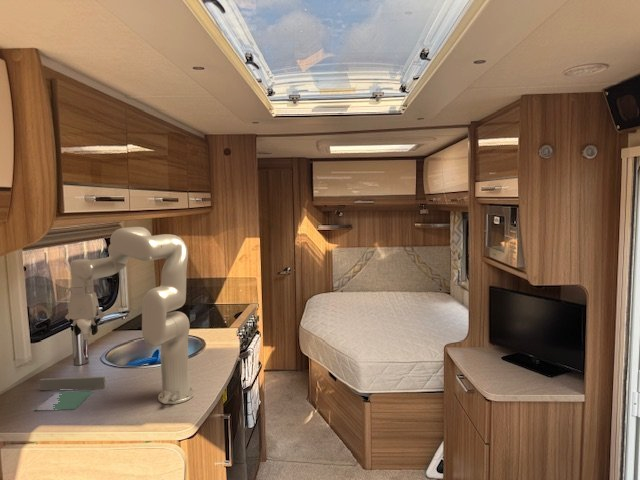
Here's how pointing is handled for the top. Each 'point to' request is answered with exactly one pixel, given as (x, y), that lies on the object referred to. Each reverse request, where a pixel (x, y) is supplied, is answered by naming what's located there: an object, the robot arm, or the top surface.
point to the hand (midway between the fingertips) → (86, 333)
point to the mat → (71, 400)
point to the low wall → (73, 383)
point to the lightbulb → (85, 327)
